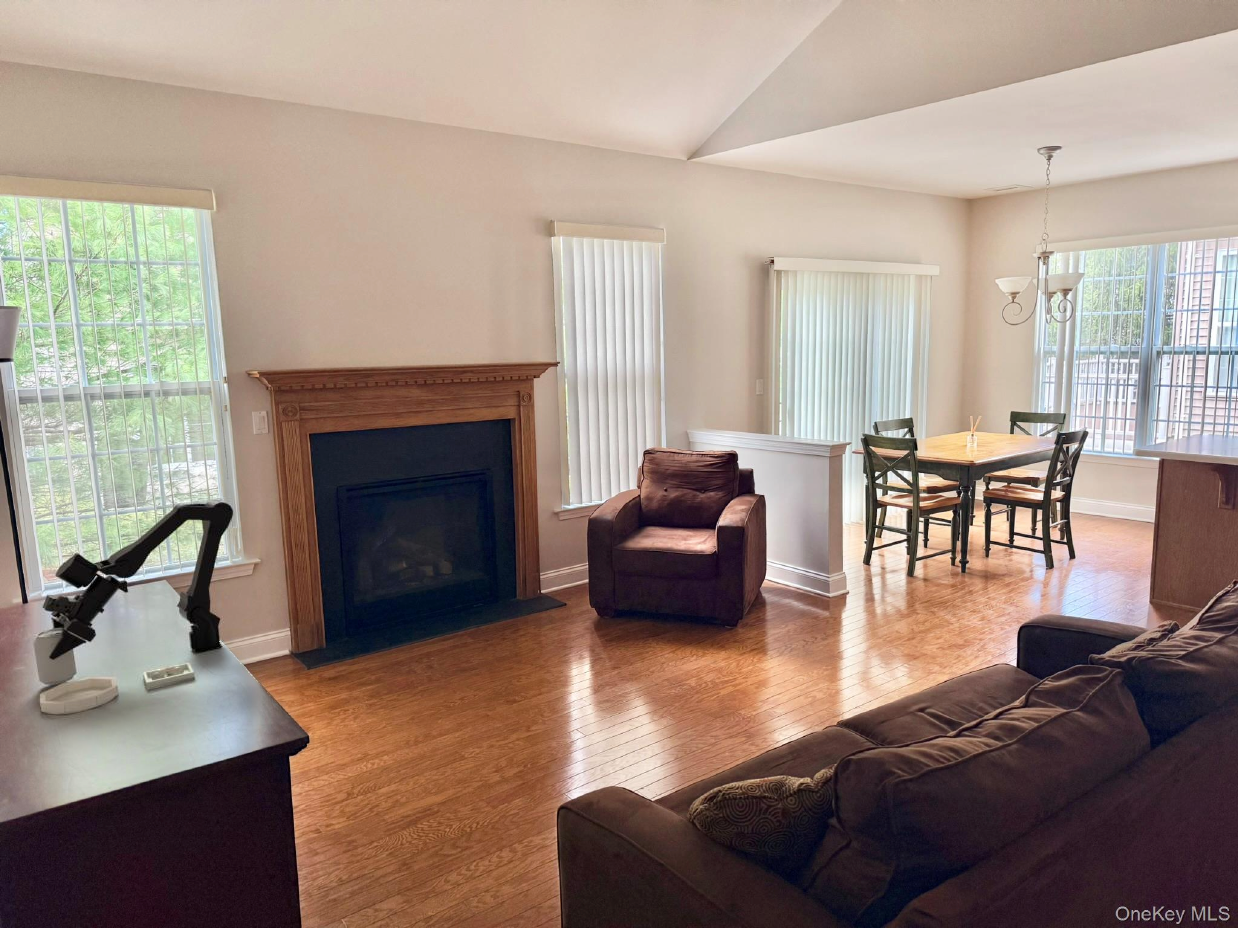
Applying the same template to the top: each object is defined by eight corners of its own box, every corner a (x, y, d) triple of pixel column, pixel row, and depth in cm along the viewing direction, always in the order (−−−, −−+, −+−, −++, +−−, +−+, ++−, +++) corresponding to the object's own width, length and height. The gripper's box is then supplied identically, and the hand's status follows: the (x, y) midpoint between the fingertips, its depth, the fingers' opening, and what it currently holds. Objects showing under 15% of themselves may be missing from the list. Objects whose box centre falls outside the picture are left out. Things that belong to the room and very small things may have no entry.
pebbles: (182, 670, 205) (181, 660, 204) (185, 676, 200) (184, 667, 200) (150, 677, 201) (148, 667, 200) (152, 684, 196) (151, 674, 196)
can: (58, 686, 196) (51, 637, 194) (31, 685, 197) (24, 636, 195) (84, 674, 203) (77, 626, 201) (58, 673, 204) (51, 625, 203)
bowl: (115, 682, 200) (114, 672, 200) (120, 702, 188) (118, 691, 188) (41, 698, 192) (40, 687, 191) (41, 720, 180) (40, 709, 179)
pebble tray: (189, 669, 207) (189, 662, 206) (194, 679, 200) (193, 671, 200) (143, 679, 201) (142, 672, 201) (147, 689, 195) (146, 682, 194)
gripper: (56, 574, 206) (8, 629, 200) (72, 588, 192) (21, 647, 187) (97, 597, 212) (52, 651, 207) (115, 612, 199) (68, 670, 193)
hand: (47, 654), depth 198 cm, fingers closed on can, 7 cm apart
